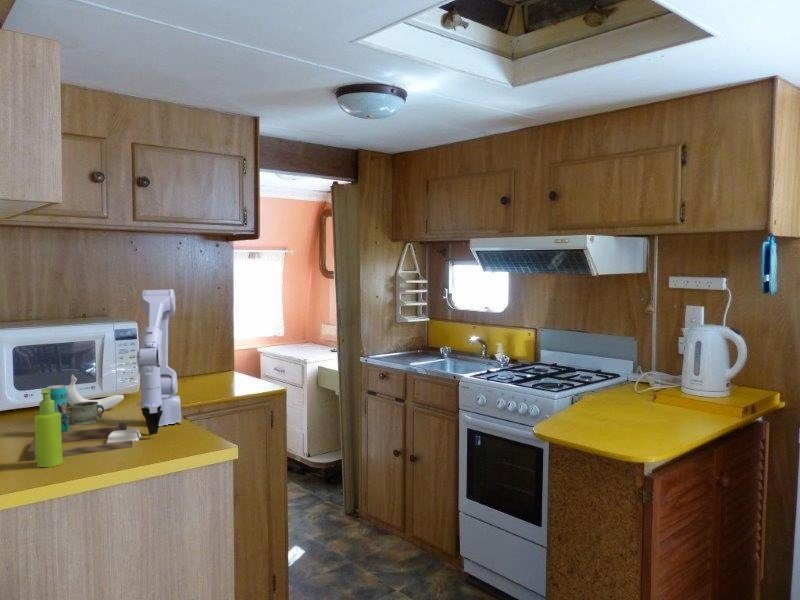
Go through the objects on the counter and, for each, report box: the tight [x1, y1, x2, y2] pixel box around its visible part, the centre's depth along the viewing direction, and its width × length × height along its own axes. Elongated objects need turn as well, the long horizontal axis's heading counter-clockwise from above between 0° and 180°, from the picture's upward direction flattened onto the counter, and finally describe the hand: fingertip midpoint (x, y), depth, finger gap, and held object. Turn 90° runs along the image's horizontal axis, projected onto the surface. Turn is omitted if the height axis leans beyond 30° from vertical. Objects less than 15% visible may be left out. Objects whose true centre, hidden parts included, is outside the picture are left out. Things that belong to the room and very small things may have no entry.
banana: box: [66, 374, 125, 412], centre depth 222 cm, size 5×19×15 cm, turn 120°
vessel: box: [68, 401, 105, 426], centre depth 207 cm, size 12×9×6 cm
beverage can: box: [46, 384, 70, 433], centre depth 191 cm, size 6×6×15 cm
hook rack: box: [27, 421, 133, 461], centre depth 178 cm, size 26×19×4 cm
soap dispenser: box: [34, 387, 64, 468], centre depth 160 cm, size 6×7×20 cm
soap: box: [106, 428, 142, 444], centre depth 183 cm, size 9×7×3 cm
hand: (152, 432), depth 186 cm, fingers open, 4 cm apart
